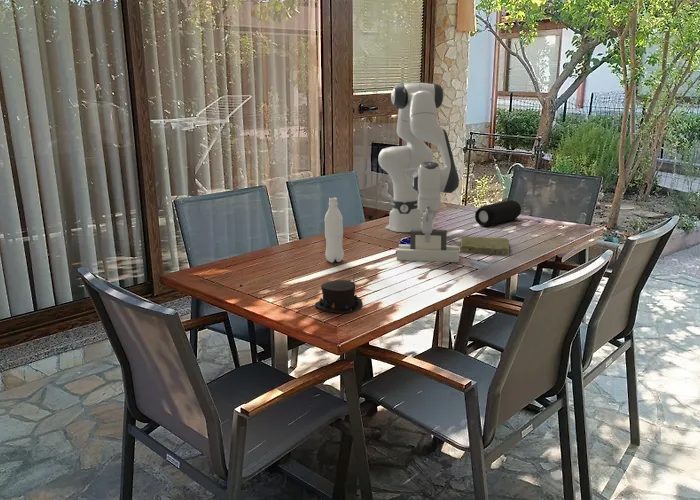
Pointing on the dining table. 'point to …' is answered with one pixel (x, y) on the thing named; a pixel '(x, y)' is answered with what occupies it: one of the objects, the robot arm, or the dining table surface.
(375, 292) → the dining table surface
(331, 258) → the water bottle
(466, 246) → the decorative tile
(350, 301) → the top hat
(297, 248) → the dining table surface
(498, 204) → the portable speaker
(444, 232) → the picture frame
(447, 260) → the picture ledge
